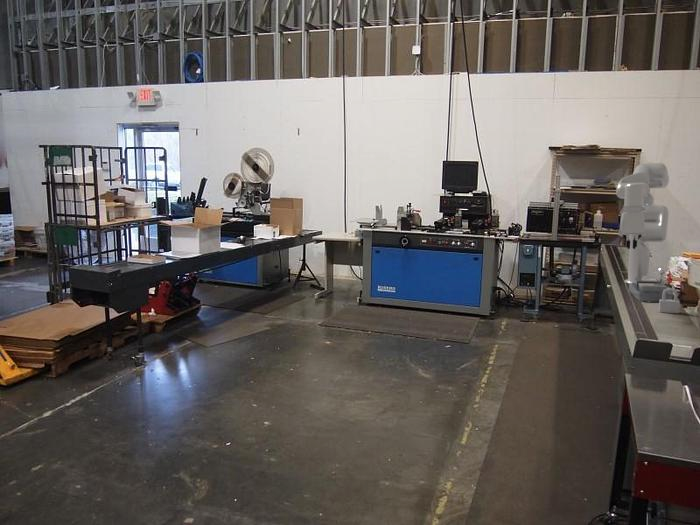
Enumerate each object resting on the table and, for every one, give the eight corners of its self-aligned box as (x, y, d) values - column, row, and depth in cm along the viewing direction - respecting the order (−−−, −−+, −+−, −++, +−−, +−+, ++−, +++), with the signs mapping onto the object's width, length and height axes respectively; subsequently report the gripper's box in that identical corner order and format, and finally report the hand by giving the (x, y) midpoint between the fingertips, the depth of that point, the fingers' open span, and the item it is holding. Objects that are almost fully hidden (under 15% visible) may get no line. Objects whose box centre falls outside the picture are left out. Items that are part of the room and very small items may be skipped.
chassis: (628, 290, 267) (629, 276, 266) (658, 291, 263) (659, 277, 262) (639, 301, 243) (639, 286, 242) (671, 302, 238) (672, 287, 237)
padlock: (659, 312, 222) (660, 288, 221) (658, 310, 226) (659, 287, 224) (679, 313, 219) (680, 289, 217) (678, 311, 222) (679, 288, 221)
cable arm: (658, 288, 266) (659, 267, 265) (665, 288, 264) (666, 268, 263) (639, 296, 248) (640, 275, 247) (647, 297, 246) (648, 275, 244)
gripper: (650, 209, 254) (648, 247, 257) (613, 209, 259) (611, 247, 262) (653, 210, 247) (651, 249, 250) (615, 210, 252) (614, 249, 255)
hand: (631, 248), depth 256 cm, fingers closed
